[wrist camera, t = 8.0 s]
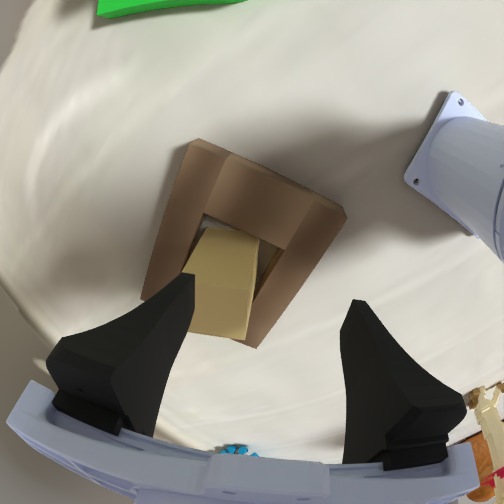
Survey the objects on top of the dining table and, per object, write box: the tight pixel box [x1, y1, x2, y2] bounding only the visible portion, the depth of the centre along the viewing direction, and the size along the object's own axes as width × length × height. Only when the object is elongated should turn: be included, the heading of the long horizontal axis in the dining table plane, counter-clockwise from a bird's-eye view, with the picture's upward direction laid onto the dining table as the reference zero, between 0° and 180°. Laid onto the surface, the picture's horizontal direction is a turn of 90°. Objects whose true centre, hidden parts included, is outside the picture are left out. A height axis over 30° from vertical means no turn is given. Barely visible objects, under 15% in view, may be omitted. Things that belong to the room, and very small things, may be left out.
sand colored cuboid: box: [182, 227, 260, 340], centre depth 20 cm, size 4×4×7 cm
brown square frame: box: [140, 138, 347, 349], centre depth 22 cm, size 11×14×2 cm
